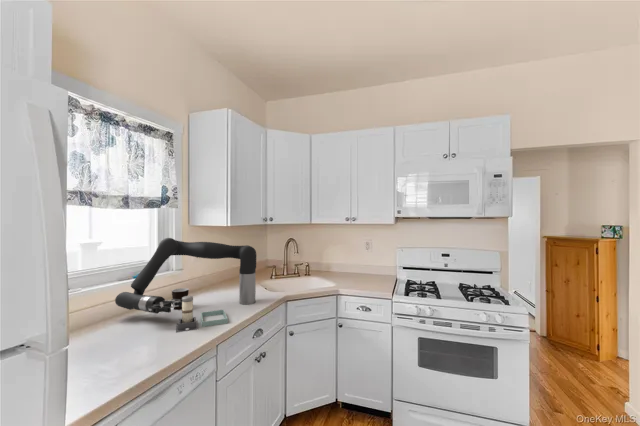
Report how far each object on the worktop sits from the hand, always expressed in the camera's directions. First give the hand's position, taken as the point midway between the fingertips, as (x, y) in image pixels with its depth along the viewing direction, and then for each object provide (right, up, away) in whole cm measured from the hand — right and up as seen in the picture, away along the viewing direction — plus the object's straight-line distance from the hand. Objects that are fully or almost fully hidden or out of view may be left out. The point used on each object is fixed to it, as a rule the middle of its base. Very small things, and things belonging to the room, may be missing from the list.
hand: (178, 307), depth 134 cm
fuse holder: (+5, -9, -2) cm, 11 cm away
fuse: (+5, -8, -2) cm, 10 cm away
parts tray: (+14, -9, +6) cm, 18 cm away
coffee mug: (-12, -10, +29) cm, 33 cm away
